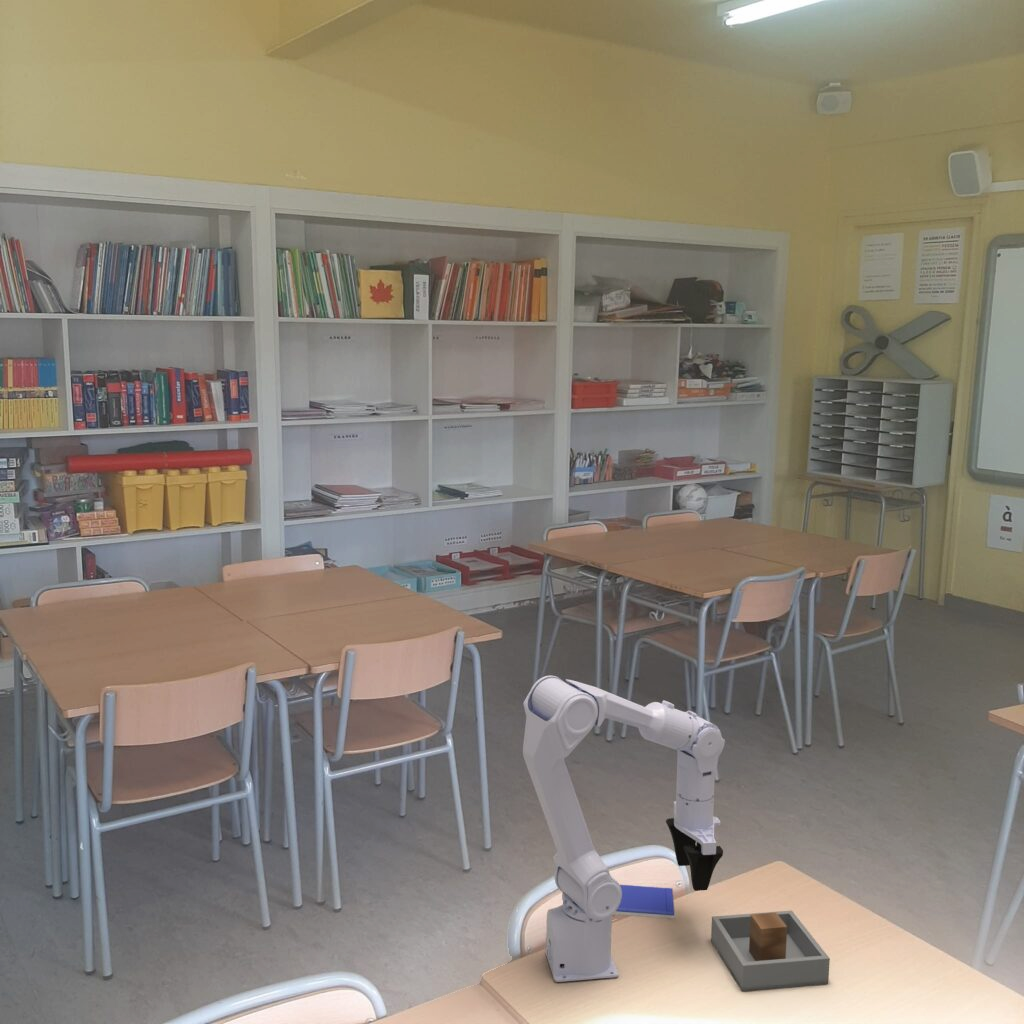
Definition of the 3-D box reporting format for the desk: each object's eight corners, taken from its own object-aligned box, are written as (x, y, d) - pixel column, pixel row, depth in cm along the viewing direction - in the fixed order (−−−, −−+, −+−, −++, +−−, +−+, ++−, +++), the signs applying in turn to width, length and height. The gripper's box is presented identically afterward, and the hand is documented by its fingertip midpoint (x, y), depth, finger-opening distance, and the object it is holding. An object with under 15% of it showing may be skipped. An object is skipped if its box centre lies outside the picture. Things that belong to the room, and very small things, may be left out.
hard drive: (597, 907, 164) (674, 912, 163) (598, 881, 172) (672, 886, 171) (596, 916, 165) (674, 921, 163) (598, 890, 173) (672, 895, 171)
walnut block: (759, 967, 149) (761, 929, 148) (749, 951, 153) (750, 914, 152) (785, 964, 150) (787, 926, 149) (774, 949, 154) (776, 912, 153)
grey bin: (742, 991, 144) (743, 965, 144) (710, 940, 157) (711, 916, 156) (828, 984, 146) (829, 958, 146) (790, 934, 159) (791, 910, 158)
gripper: (737, 812, 149) (733, 899, 151) (704, 773, 163) (701, 852, 165) (691, 815, 148) (688, 902, 150) (661, 775, 162) (659, 855, 164)
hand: (692, 876), depth 158 cm, fingers open, 7 cm apart
